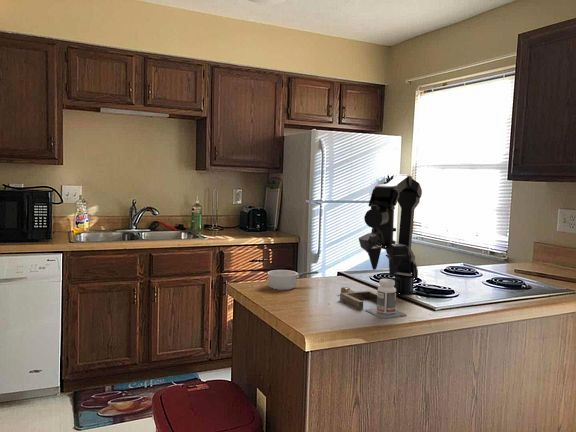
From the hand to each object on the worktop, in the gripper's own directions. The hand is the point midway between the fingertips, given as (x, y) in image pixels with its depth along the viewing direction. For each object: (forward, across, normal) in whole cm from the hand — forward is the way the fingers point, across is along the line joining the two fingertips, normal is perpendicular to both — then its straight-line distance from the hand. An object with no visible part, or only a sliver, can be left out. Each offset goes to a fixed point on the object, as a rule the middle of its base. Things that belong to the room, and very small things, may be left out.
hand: (382, 272), depth 155 cm
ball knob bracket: (+12, -10, -3) cm, 15 cm away
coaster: (+11, +6, -3) cm, 13 cm away
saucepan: (+12, -35, -16) cm, 40 cm away
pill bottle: (+11, +6, -3) cm, 13 cm away
